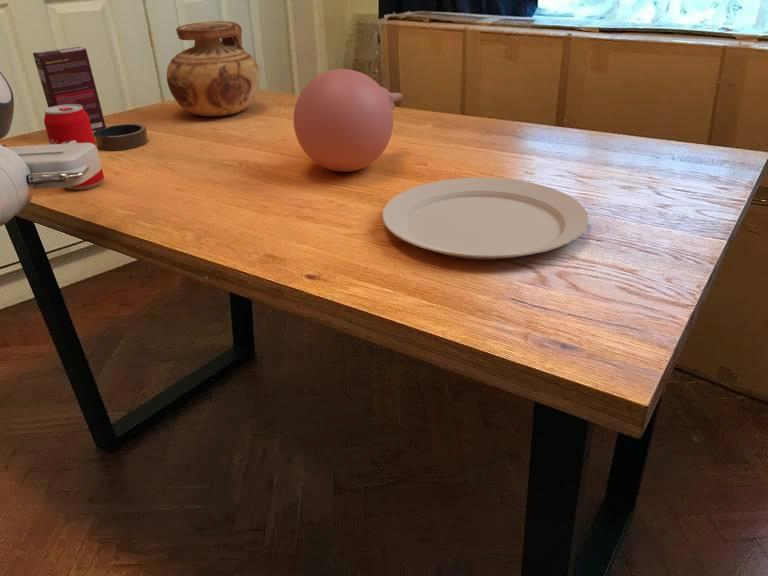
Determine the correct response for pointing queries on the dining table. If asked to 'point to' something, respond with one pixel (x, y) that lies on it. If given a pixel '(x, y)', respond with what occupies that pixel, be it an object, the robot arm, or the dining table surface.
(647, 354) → the dining table surface
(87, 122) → the beverage can
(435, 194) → the plate
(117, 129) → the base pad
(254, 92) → the clay pot
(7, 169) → the robot arm
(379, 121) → the balloon
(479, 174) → the dining table surface
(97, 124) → the supplement box
